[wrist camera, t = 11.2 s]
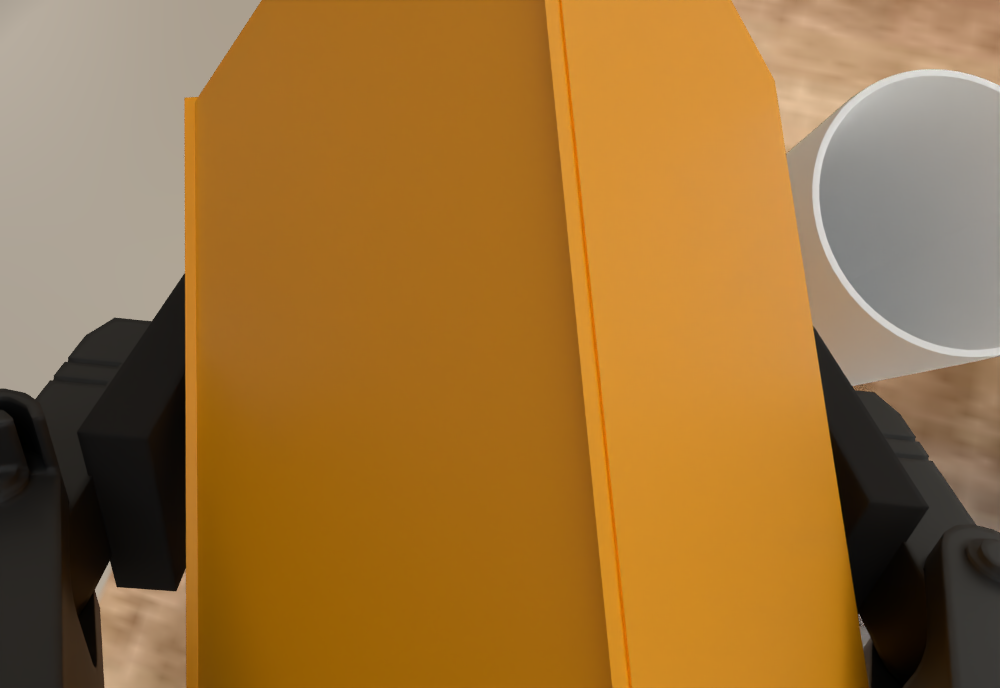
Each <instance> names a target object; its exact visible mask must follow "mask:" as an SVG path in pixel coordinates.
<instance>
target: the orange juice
mask: <svg viewBox="0 0 1000 688" xmlns="http://www.w3.org/2000/svg"><path fill="white" fill-rule="evenodd" d="M185 388H186V688H869V684H868V677H867V671H866V665H865V658H864V652H863V645H862V639H861V633H860V626H859V620H858V613H857V607H856V600H855V594H854V588H853V581H852V575H851V568H850V562H849V555H848V549H847V543H846V536H845V530H844V523H843V517H842V511H841V504H840V498H839V491H838V485H837V478H836V472H835V466H834V459H833V453H832V446H831V440H830V433H829V427H828V421H827V414H826V408H825V401H824V395H823V389H822V382H821V376H820V369H819V363H818V356H817V350H816V344H815V337H814V331H813V324H812V318H811V312H810V305H809V299H808V292H807V286H806V279H805V273H804V267H803V260H802V254H801V247H800V241H799V234H798V228H797V222H796V215H795V209H794V202H793V196H792V190H791V183H790V177H789V170H788V164H787V157H786V151H785V145H784V138H783V132H782V125H781V119H780V112H779V106H778V100H777V93H776V87H775V81H774V79H773V77H772V75H771V73H770V71H769V70H768V68H767V66H766V64H765V62H764V60H763V58H762V57H761V55H760V53H759V51H758V49H757V47H756V45H755V44H754V42H753V40H752V38H751V36H750V34H749V33H748V31H747V29H746V27H745V25H744V23H743V21H742V20H741V18H740V16H739V14H738V12H737V10H736V8H735V7H734V5H733V3H732V1H731V0H262V1H261V2H260V4H259V5H258V7H257V8H256V10H255V11H254V13H253V15H252V16H251V18H250V19H249V21H248V22H247V24H246V25H245V27H244V28H243V30H242V31H241V33H240V34H239V36H238V37H237V39H236V40H235V42H234V43H233V45H232V46H231V48H230V50H229V51H228V53H227V54H226V56H225V57H224V59H223V60H222V62H221V63H220V65H219V66H218V68H217V69H216V71H215V72H214V74H213V76H212V77H211V78H210V80H209V82H208V83H207V85H206V86H205V88H204V89H203V91H202V92H201V94H200V95H199V97H191V98H185Z"/></svg>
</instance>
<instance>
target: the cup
mask: <svg viewBox="0 0 1000 688" xmlns="http://www.w3.org/2000/svg"><path fill="white" fill-rule="evenodd" d="M786 157H787V164H788V170H789V177H790V183H791V190H792V196H793V202H794V209H795V215H796V222H797V228H798V234H799V241H800V247H801V254H802V260H803V267H804V273H805V279H806V286H807V292H808V299H809V305H810V312H811V318H812V324H813V326H814V327H815V329H816V330H817V332H818V334H819V335H820V337H821V338H822V340H823V341H824V343H825V345H826V346H827V348H828V349H829V351H830V352H831V354H832V356H833V357H834V359H835V360H836V362H837V363H838V365H839V367H840V368H841V370H842V371H843V373H844V374H845V376H846V377H847V379H848V381H849V382H850V384H851V385H852V386H855V385H860V384H865V383H870V382H875V381H880V380H885V379H890V378H895V377H900V376H905V375H910V374H915V373H920V372H925V371H930V370H935V369H940V368H945V367H950V366H955V365H960V364H965V363H970V362H975V361H980V360H984V359H989V358H994V357H998V356H1000V86H999V85H997V84H995V83H993V82H990V81H988V80H986V79H983V78H980V77H977V76H974V75H970V74H966V73H962V72H957V71H950V70H938V69H927V70H915V71H909V72H904V73H900V74H896V75H893V76H890V77H887V78H885V79H882V80H880V81H878V82H876V83H874V84H872V85H870V86H869V87H867V88H866V89H864V90H862V91H861V92H859V93H858V94H856V95H855V96H853V97H852V98H850V99H849V100H848V101H847V102H846V103H844V104H843V105H842V106H841V107H840V108H839V109H837V110H836V111H835V112H834V113H833V114H832V115H830V116H829V117H828V118H827V119H826V120H825V121H824V122H822V123H821V124H820V125H819V126H818V127H817V128H815V129H814V130H813V131H812V132H811V133H810V134H808V135H807V136H806V137H805V138H804V139H803V140H801V141H800V142H799V143H798V144H797V145H796V146H795V147H793V148H792V149H791V150H790V151H789V152H788V153H787V154H786Z"/></svg>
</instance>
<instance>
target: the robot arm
mask: <svg viewBox="0 0 1000 688" xmlns="http://www.w3.org/2000/svg"><path fill="white" fill-rule="evenodd" d="M813 331H814V337H815V344H816V350H817V356H818V363H819V369H820V376H821V382H822V389H823V395H824V401H825V408H826V414H827V421H828V427H829V433H830V440H831V446H832V453H833V459H834V466H835V472H836V478H837V485H838V491H839V498H840V504H841V511H842V517H843V523H844V530H845V536H846V543H847V549H848V555H849V562H850V568H851V575H852V581H853V588H854V594H855V600H856V607H857V613H858V614H860V616H861V618H862V620H863V623H864V625H865V627H866V629H867V631H868V633H869V635H870V639H869V640H868V642H867V643H866V645H865V646H864V648H863V652H864V658H865V665H866V671H867V677H868V684H869V688H1000V533H999V532H997V531H995V530H993V529H989V528H985V527H981V526H977V525H976V524H975V522H974V521H973V519H972V518H971V517H970V515H969V514H968V512H967V511H966V509H965V508H964V506H963V505H962V503H961V502H960V501H959V499H958V498H957V496H956V495H955V493H954V492H953V490H952V489H951V488H950V486H949V485H948V483H947V482H946V480H945V479H944V477H943V476H942V474H941V473H940V472H939V470H938V469H937V467H936V466H935V464H934V463H933V461H929V460H928V457H929V456H928V454H927V453H926V451H925V450H924V448H923V447H922V445H921V444H920V443H919V442H917V441H915V438H916V437H915V435H914V434H913V432H912V431H911V429H910V428H909V427H908V425H907V424H906V422H905V421H904V419H903V418H902V416H901V415H900V414H899V413H898V412H897V411H896V410H895V409H893V408H892V407H891V406H890V405H889V404H887V403H886V402H885V401H884V400H882V399H881V398H880V397H879V396H878V395H876V394H875V393H874V392H865V391H855V390H854V388H853V387H852V385H851V384H850V382H849V381H848V379H847V377H846V376H845V374H844V373H843V371H842V370H841V368H840V367H839V365H838V363H837V362H836V360H835V359H834V357H833V356H832V354H831V352H830V351H829V349H828V348H827V346H826V345H825V343H824V341H823V340H822V338H821V337H820V335H819V334H818V332H817V330H816V329H815V327H814V326H813ZM109 561H110V562H111V566H112V570H113V574H114V578H115V582H116V586H117V587H124V588H138V589H152V590H166V591H177V588H178V586H179V583H180V581H181V578H182V576H183V574H184V571H185V569H186V388H185V274H184V275H183V277H182V278H181V280H180V281H179V282H178V284H177V285H176V287H175V288H174V290H173V291H172V293H171V294H170V296H169V297H168V299H167V300H166V301H165V303H164V304H163V306H162V308H161V309H160V310H159V312H158V313H157V315H156V316H155V318H154V319H153V321H142V320H132V319H122V318H114V319H112V320H110V321H109V322H107V323H106V324H104V325H102V326H101V327H99V328H97V329H96V330H94V331H92V332H91V333H89V334H87V335H86V336H85V337H84V338H83V340H82V341H81V342H80V343H79V345H78V346H77V347H76V348H75V350H74V351H73V352H72V354H71V355H70V356H69V357H68V362H64V364H63V365H62V366H61V367H60V369H59V370H58V371H57V372H56V374H55V375H54V380H53V381H49V383H48V384H47V385H46V386H45V388H44V389H43V390H42V391H41V393H40V394H39V395H38V397H37V398H36V399H34V398H32V397H31V396H29V395H28V394H26V393H23V392H18V391H13V390H8V389H0V688H104V673H103V655H102V637H101V619H100V607H99V603H98V600H97V597H96V593H95V588H96V586H97V584H98V582H99V580H100V578H101V576H102V574H103V573H104V570H105V569H106V567H107V565H108V563H109Z"/></svg>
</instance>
